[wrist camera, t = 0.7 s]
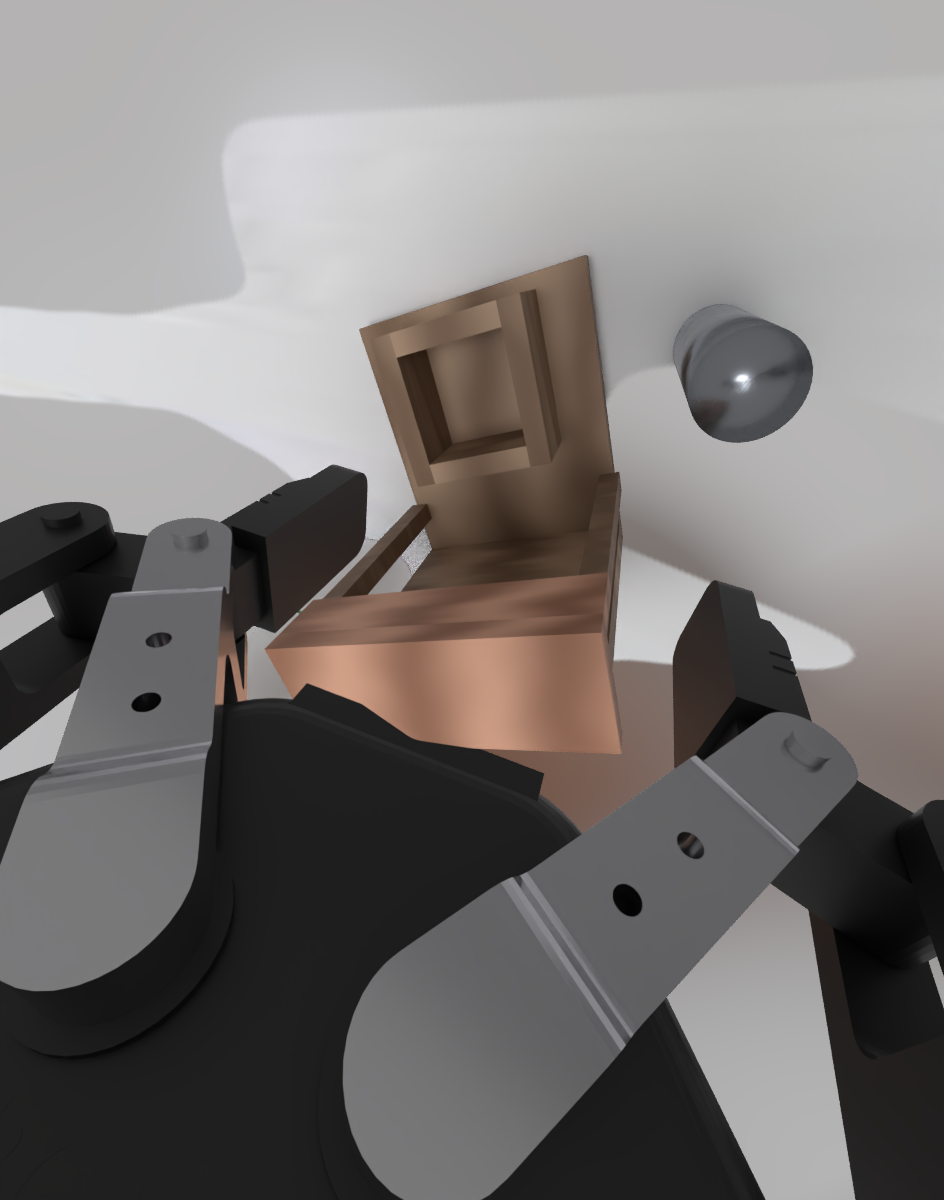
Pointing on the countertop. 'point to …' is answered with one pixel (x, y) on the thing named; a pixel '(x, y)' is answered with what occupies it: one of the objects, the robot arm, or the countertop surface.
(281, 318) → the countertop surface
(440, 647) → the wooden frame stand
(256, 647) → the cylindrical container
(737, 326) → the steel peg
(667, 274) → the countertop surface
